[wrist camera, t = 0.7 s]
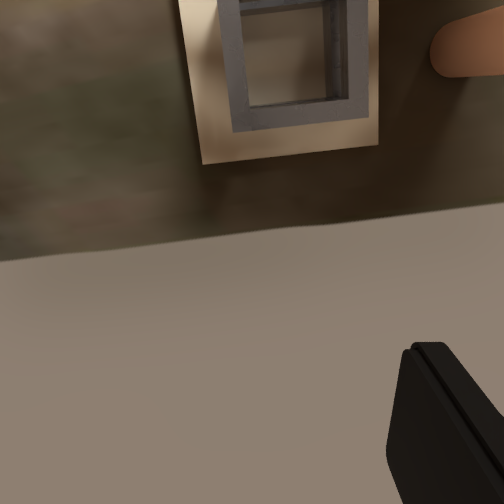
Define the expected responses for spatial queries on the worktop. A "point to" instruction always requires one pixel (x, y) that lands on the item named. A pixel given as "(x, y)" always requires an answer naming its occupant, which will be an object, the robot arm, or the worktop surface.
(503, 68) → the peg
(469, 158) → the worktop surface
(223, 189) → the worktop surface
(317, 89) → the collar stand
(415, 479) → the robot arm
